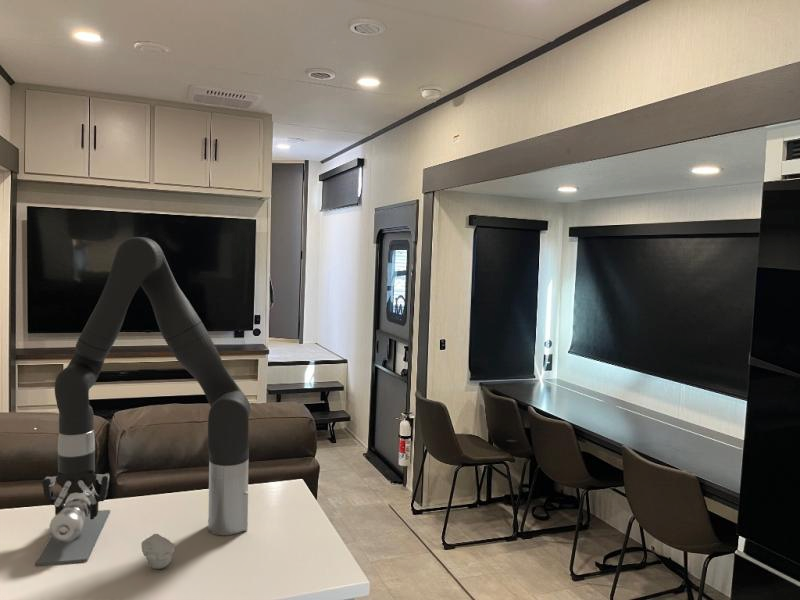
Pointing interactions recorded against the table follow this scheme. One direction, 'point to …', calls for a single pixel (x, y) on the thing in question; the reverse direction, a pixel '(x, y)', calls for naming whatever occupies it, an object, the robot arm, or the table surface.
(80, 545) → the charcoal rubber mat
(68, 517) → the plastic bottle
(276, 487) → the table surface
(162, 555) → the grey cupcake
